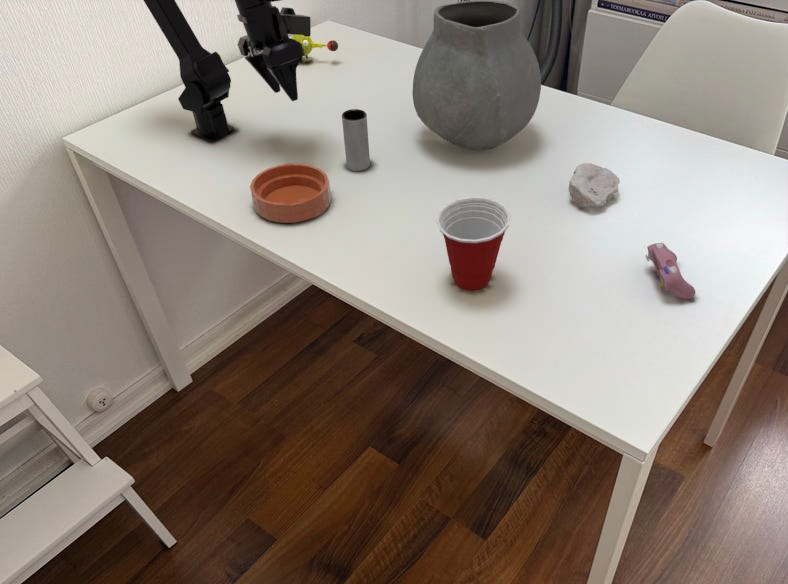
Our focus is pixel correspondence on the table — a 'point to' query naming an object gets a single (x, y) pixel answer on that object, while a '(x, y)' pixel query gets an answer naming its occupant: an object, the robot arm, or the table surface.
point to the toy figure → (313, 44)
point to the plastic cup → (473, 238)
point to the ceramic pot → (476, 75)
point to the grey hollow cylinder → (356, 139)
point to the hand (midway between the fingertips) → (286, 96)
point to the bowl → (290, 193)
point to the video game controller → (669, 271)
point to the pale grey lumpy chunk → (592, 185)
